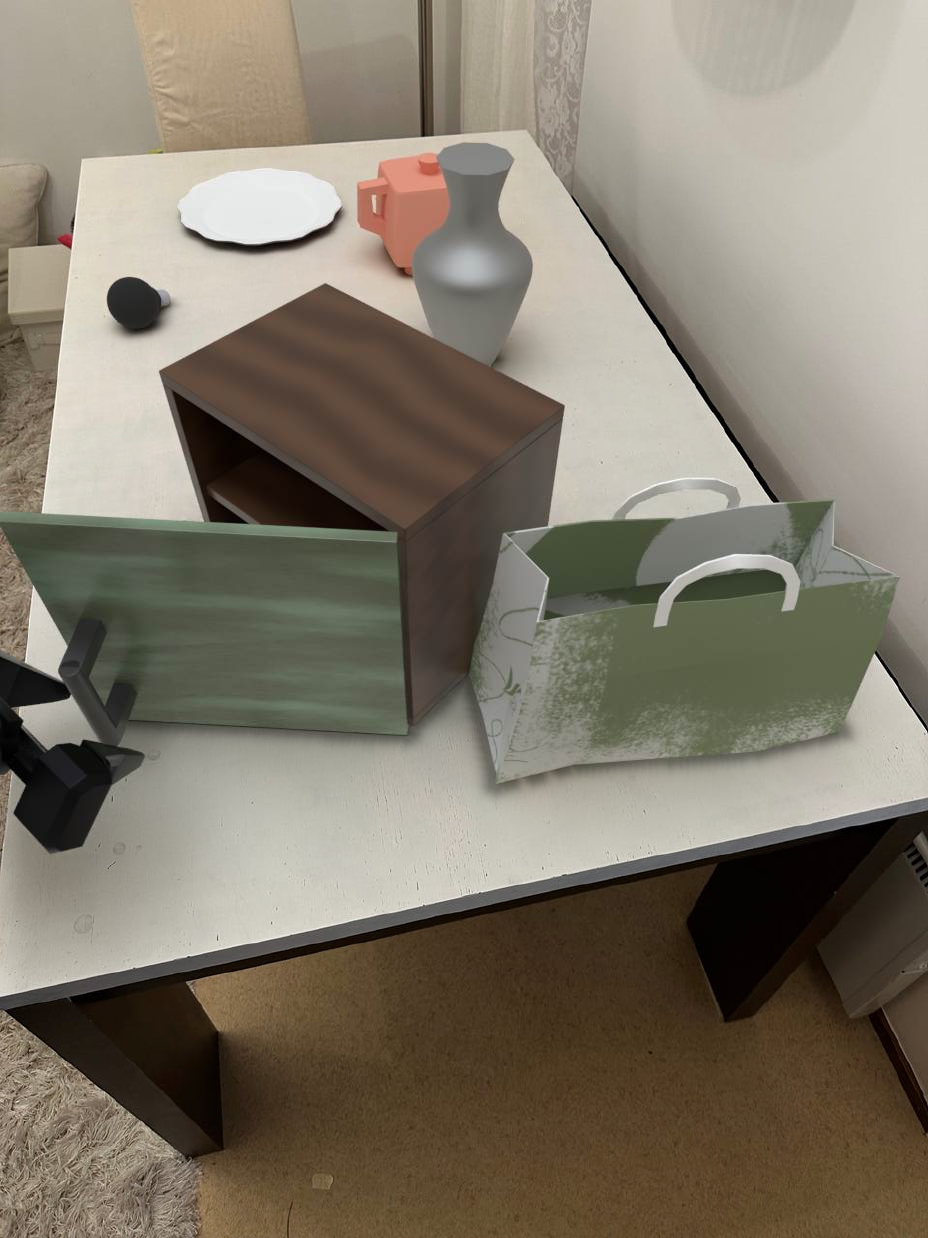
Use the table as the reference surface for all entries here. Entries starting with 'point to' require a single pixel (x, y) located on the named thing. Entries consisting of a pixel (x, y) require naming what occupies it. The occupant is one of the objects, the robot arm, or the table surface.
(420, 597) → the wooden cabinet
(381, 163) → the teapot
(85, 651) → the green cabinet door
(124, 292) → the light bulb
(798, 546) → the grocery bag
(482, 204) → the vase
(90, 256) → the table surface
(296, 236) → the plate
